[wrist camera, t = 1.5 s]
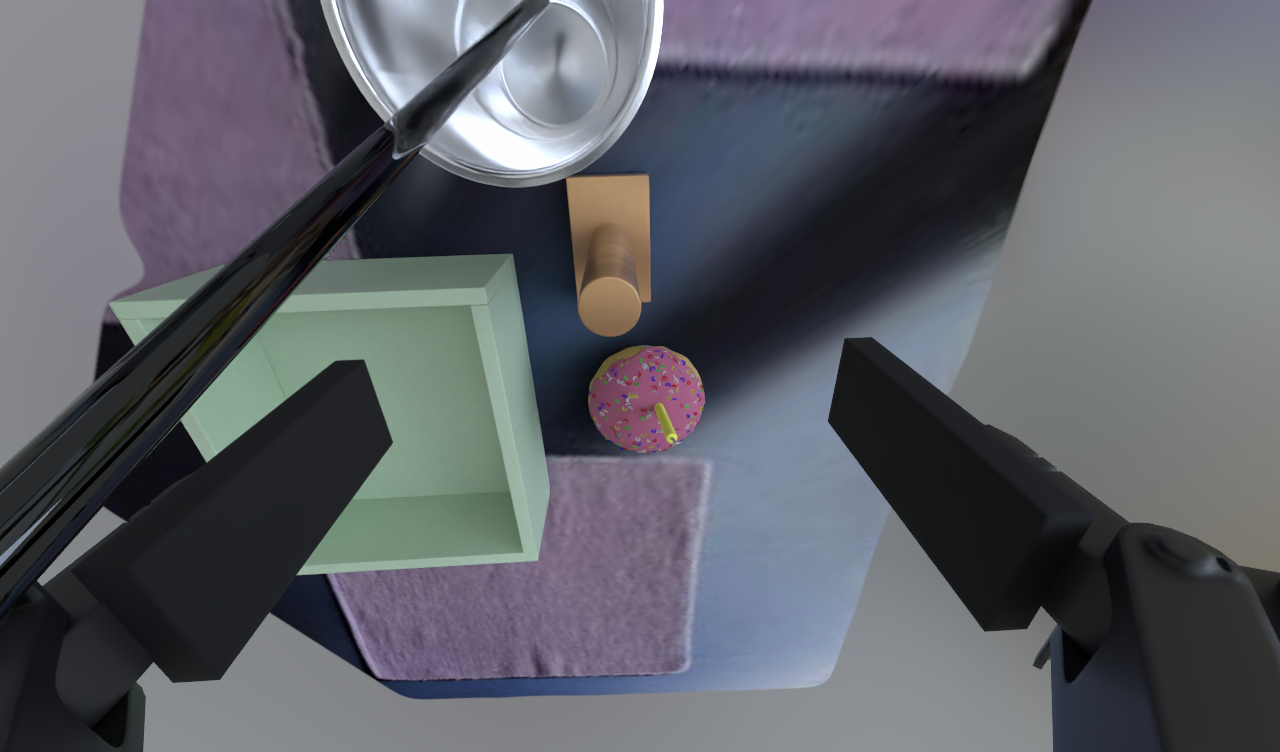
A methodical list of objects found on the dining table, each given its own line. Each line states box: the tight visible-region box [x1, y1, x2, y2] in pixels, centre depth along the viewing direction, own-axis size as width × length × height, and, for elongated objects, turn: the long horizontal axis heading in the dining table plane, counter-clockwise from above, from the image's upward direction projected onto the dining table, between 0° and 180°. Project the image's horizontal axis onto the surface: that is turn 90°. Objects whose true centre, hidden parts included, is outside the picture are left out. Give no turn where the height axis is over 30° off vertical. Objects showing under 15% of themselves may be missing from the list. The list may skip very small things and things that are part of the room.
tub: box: [109, 254, 550, 575], centre depth 33 cm, size 22×20×8 cm
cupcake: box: [588, 345, 705, 453], centre depth 31 cm, size 9×8×12 cm
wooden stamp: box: [566, 171, 651, 337], centre depth 25 cm, size 8×5×15 cm, turn 1°
